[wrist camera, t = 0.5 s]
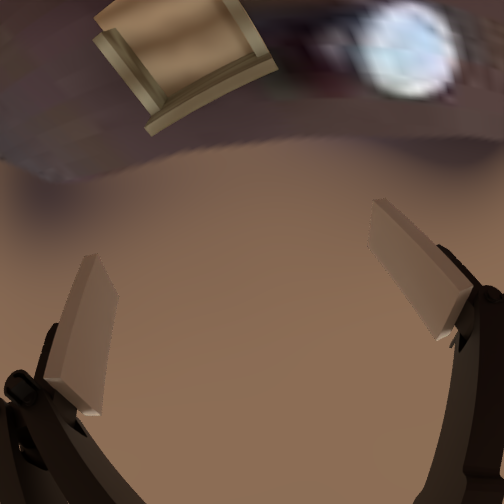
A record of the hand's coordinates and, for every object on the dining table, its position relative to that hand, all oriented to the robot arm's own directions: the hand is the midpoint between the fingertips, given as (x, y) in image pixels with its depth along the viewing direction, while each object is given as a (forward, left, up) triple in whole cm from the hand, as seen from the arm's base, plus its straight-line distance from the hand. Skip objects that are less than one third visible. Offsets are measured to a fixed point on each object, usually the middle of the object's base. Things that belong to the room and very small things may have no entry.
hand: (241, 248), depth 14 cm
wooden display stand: (-9, -2, -25) cm, 27 cm away
